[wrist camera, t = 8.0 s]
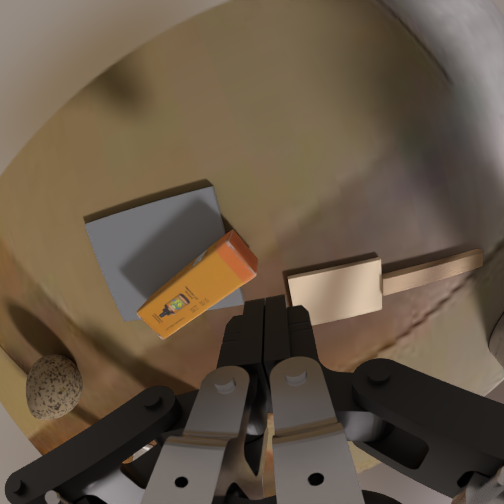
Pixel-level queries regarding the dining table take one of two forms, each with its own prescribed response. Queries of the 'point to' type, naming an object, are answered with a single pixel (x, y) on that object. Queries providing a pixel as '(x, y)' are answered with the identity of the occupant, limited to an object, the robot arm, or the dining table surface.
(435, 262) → the turner
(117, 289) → the mat
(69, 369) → the decorative egg
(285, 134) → the dining table surface
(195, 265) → the supplement box
